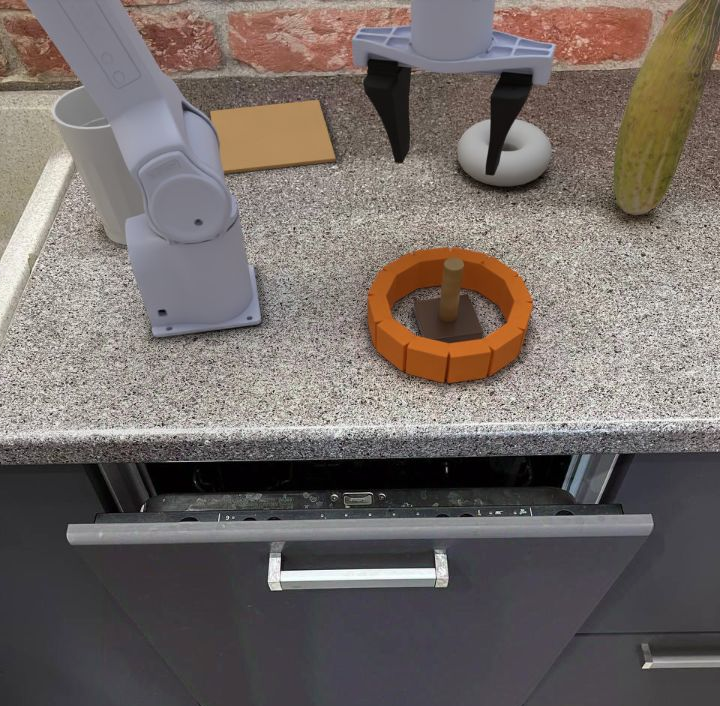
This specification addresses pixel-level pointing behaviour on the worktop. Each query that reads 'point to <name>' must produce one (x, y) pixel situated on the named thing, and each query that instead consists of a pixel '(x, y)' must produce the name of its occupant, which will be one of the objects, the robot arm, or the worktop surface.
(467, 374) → the ring
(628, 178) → the vegetable
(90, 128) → the cup
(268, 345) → the worktop surface
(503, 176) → the donut
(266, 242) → the worktop surface
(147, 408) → the worktop surface
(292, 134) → the mat
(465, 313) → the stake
